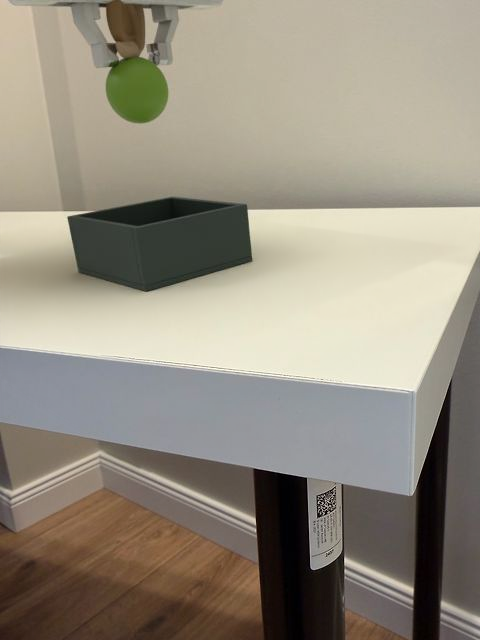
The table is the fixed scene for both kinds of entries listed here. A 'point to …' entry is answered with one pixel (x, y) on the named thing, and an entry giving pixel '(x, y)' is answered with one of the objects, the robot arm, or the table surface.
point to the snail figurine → (133, 67)
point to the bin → (161, 241)
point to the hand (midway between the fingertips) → (134, 66)
